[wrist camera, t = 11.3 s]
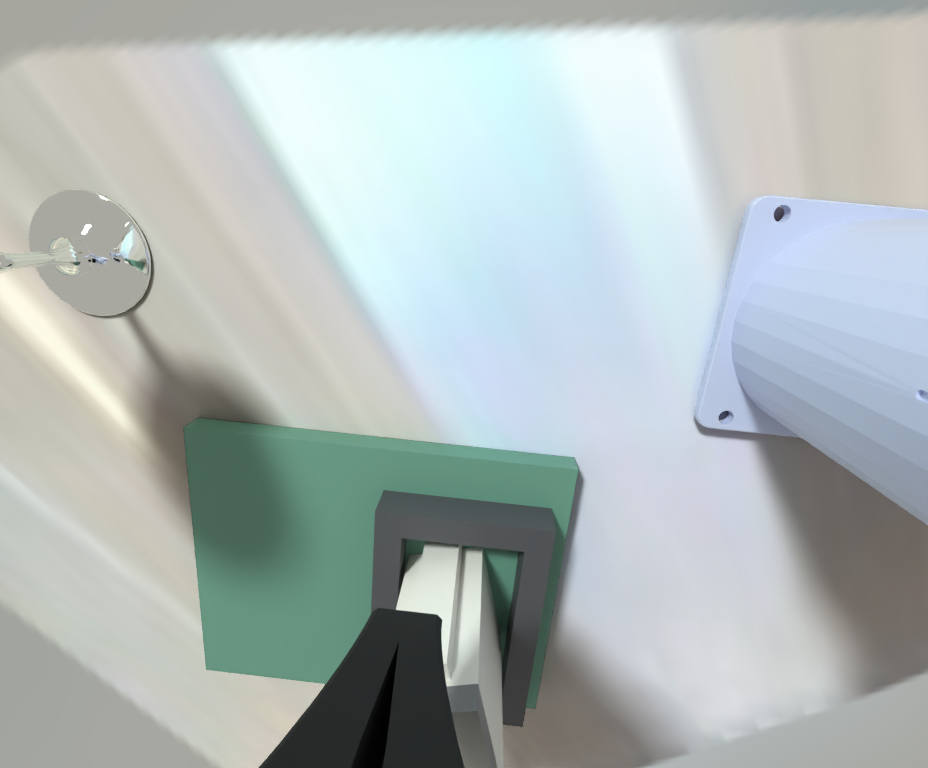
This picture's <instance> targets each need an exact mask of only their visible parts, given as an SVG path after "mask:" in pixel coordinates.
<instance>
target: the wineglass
mask: <svg viewBox="0 0 928 768" xmlns="http://www.w3.org/2000/svg"><path fill="white" fill-rule="evenodd" d="M28 240H29V249H30V252H26V253H2V252H0V273H3V272H7V271H10V270H13V269H18V268H25V267H35V268H36V270H37V272H38V274H39V276H40V277H41V279H42V280H43V282H44V283H45V284H46V286H47V287H48V288H49V289H50V290H51V291H52V292H53V293H54V294H55V295H56V296H57V297H58V298H59V299H60V300H62V301H63V302H64V303H66V304H67V305H69V306H71V307H73V308H74V309H77V310H79V311H81V312H84V313H87V314H92V315H98V316H110V315H117V314H120V313H123V312H126V311H128V310H129V309H131V308H132V307H133V306H135V305H136V304H137V303H138V302H139V301H140V300H141V298H142V297H143V296H144V294H145V292H146V290H147V288H148V285H149V282H150V277H151V258H150V253H149V248H148V245H147V242H146V240H145V237H144V235H143V233H142V232H141V230H140V228H139V227H138V225H137V224H136V222H135V221H134V220H133V218H132V217H131V216H130V215H129V214H128V213H127V212H126V211H125V210H124V209H123V208H122V207H121V206H120V205H118V204H117V203H115V202H114V201H112V200H111V199H109V198H107V197H106V196H103V195H101V194H98V193H96V192H93V191H89V190H82V189H70V190H63V191H60V192H57V193H55V194H53V195H51V196H49V197H48V198H46V199H45V200H44V201H43V202H42V203H41V204H40V205H39V206H38V207H37V209H36V211H35V212H34V214H33V216H32V219H31V222H30V226H29V235H28Z"/></svg>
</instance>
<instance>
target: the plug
mask: <svg viewBox="0 0 928 768" xmlns="http://www.w3.org/2000/svg"><path fill="white" fill-rule="evenodd" d="M396 610H402V611H411V612H419V613H428V614H437V615H438V616H439V617H440V618H441V619H442V629H441V639H442V655H443V664H444V672H445V679H446V685H447V692H448V697H449V702H450V707H451V712H452V717H453V722H454V727H455V731H456V735H457V740H458V744H459V748H460V752H461V756H462V759H463V763H464V767H465V768H504V765H503V715H502V664H501V633H500V628H499V623H498V619H497V614H496V609H495V604H494V599H493V594H492V589H491V585H490V580H489V575H488V570H487V565H486V560H485V555H484V550H483V547H470V548H463V547H462V545H457V544H448V543H439V542H430V541H425V545H424V550H423V553H422V554H414V555H409V559H408V563H407V567H406V571H405V575H404V579H403V583H402V587H401V591H400V595H399V599H398V603H397V607H396Z"/></svg>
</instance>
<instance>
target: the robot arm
mask: <svg viewBox="0 0 928 768" xmlns="http://www.w3.org/2000/svg"><path fill="white" fill-rule="evenodd" d="M779 206H781V207H782V208H783V210H784V215H783V217H782V219H781V220H779V221H778V222H777V221H776V220H775V219H774V211H775V209H776V208H777V207H779ZM723 411H729V414H728V416H727V418H725V419H724V420H719V415H720V413H722V412H723ZM694 416H695V419H696V421H697V422H698V423H699V424H701V425H702V426H703V427H706V428H711V429H720V430H730V431H740V432H749V433H759V434H769V435H778V436H788V437H798V438H802V439H804V440H805V441H807V442H808V443H810V444H811V445H812V446H814V447H815V448H817V449H818V450H820V451H821V452H822V453H824V454H825V455H827V456H828V457H830V458H831V459H833V460H834V461H835V462H837V463H838V464H840V465H841V466H843V467H844V468H845V469H847V470H848V471H850V472H851V473H853V474H854V475H856V476H857V477H858V478H860V479H861V480H863V481H864V482H866V483H867V484H868V485H870V486H871V487H873V488H874V489H876V490H877V491H879V492H880V493H881V494H883V495H884V496H886V497H887V498H889V499H890V500H892V501H893V502H894V503H896V504H897V505H899V506H900V507H902V508H903V509H904V510H906V511H907V512H909V513H910V514H912V515H913V516H915V517H916V518H917V519H919V520H920V521H922V522H923V523H925V524H926V525H927V526H928V210H922V209H911V208H900V207H889V206H878V205H868V204H857V203H846V202H835V201H824V200H813V199H802V198H792V197H781V196H761V197H757V198H755V199H753V200H752V201H751V202H750V203H749V204H748V206H747V208H746V210H745V214H744V218H743V221H742V225H741V229H740V233H739V237H738V241H737V245H736V249H735V253H734V257H733V261H732V265H731V269H730V273H729V277H728V281H727V285H726V289H725V293H724V297H723V301H722V305H721V308H720V312H719V316H718V320H717V324H716V328H715V332H714V336H713V340H712V344H711V348H710V352H709V356H708V360H707V364H706V368H705V372H704V376H703V380H702V384H701V388H700V392H699V395H698V399H697V403H696V407H695V412H694ZM441 629H442V619H441V618H440V617H439V616H438V615H437V614H428V613H419V612H411V611H402V610H393V609H384V608H377V609H375V610H374V611H373V612H372V613H371V615H370V617H369V619H368V621H367V622H366V624H365V626H364V628H363V629H362V631H361V633H360V634H359V636H358V638H357V639H356V641H355V642H354V644H353V645H352V647H351V649H350V650H349V652H348V653H347V655H346V656H345V658H344V659H343V661H342V662H341V664H340V665H339V666H338V668H337V669H336V671H335V672H334V673H333V675H332V676H331V677H330V679H329V680H328V682H327V683H326V684H325V686H324V687H323V689H322V690H321V691H320V693H319V694H318V696H317V697H316V698H315V700H314V701H313V702H312V703H311V705H310V706H309V707H308V709H307V710H306V711H305V712H304V714H303V715H302V716H301V717H300V719H299V720H298V721H297V722H296V724H295V725H294V726H293V727H292V729H291V730H290V731H289V732H288V734H287V735H286V736H285V737H284V739H283V740H282V741H281V742H280V744H279V745H278V746H277V747H276V748H275V749H274V751H273V752H272V753H271V754H270V755H269V756H268V758H267V759H266V760H265V761H264V762H263V763H262V765H261V766H260V767H259V768H465V767H464V763H463V759H462V756H461V752H460V748H459V744H458V740H457V735H456V731H455V727H454V722H453V717H452V712H451V707H450V702H449V697H448V692H447V685H446V679H445V672H444V664H443V655H442V639H441Z"/></svg>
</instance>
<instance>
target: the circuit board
mask: <svg viewBox="0 0 928 768" xmlns="http://www.w3.org/2000/svg"><path fill="white" fill-rule="evenodd" d="M183 430H184V441H185V451H186V462H187V472H188V483H189V493H190V504H191V514H192V525H193V535H194V546H195V556H196V567H197V577H198V588H199V598H200V609H201V619H202V630H203V641H204V651H205V662H206V670H213V671H222V672H230V673H239V674H247V675H255V676H264V677H272V678H281V679H289V680H298V681H306V682H314V683H323V684H326V683H327V682H328V680H329V679H330V677H331V676H332V675H333V673H334V672H335V671H336V669H337V668H338V666H339V665H340V664H341V662H342V661H343V659H344V658H345V656H346V655H347V653H348V652H349V650H350V649H351V647H352V645H353V644H354V642H355V641H356V639H357V638H358V636H359V634H360V633H361V631H362V629H363V628H364V626H365V624H366V622H367V621H368V619H369V617H370V615H371V613H372V612H373V611H374V610H375V609H377V608H384V609H393V610H396V607H397V603H398V599H399V595H400V591H401V587H402V583H403V579H404V575H405V571H406V567H407V563H408V559H409V555H414V554H422V553H423V550H424V545H425V541H430V542H439V543H448V544H457V545H462V547H463V548H470V547H483V550H484V555H485V560H486V565H487V570H488V575H489V580H490V585H491V589H492V594H493V599H494V604H495V609H496V614H497V619H498V623H499V628H500V633H501V664H502V715H503V725H512V726H520V727H522V726H523V721H524V715H525V709H526V708H534V709H535V707H536V701H537V696H538V690H539V684H540V679H541V673H542V668H543V662H544V657H545V651H546V646H547V640H548V635H549V629H550V624H551V618H552V613H553V607H554V602H555V596H556V591H557V585H558V580H559V574H560V569H561V563H562V558H563V552H564V547H565V541H566V536H567V530H568V525H569V519H570V513H571V508H572V502H573V497H574V491H575V486H576V480H577V475H578V467H577V464H576V461H575V458H573V457H564V456H554V455H545V454H535V453H526V452H517V451H507V450H498V449H488V448H479V447H469V446H460V445H451V444H441V443H432V442H422V441H413V440H403V439H394V438H384V437H375V436H366V435H356V434H347V433H337V432H328V431H318V430H309V429H299V428H290V427H281V426H271V425H262V424H252V423H243V422H233V421H224V420H215V419H205V418H197V419H195V420H194V421H192V422H191V423H189V424H188V425H186V426H185V427H183Z"/></svg>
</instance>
